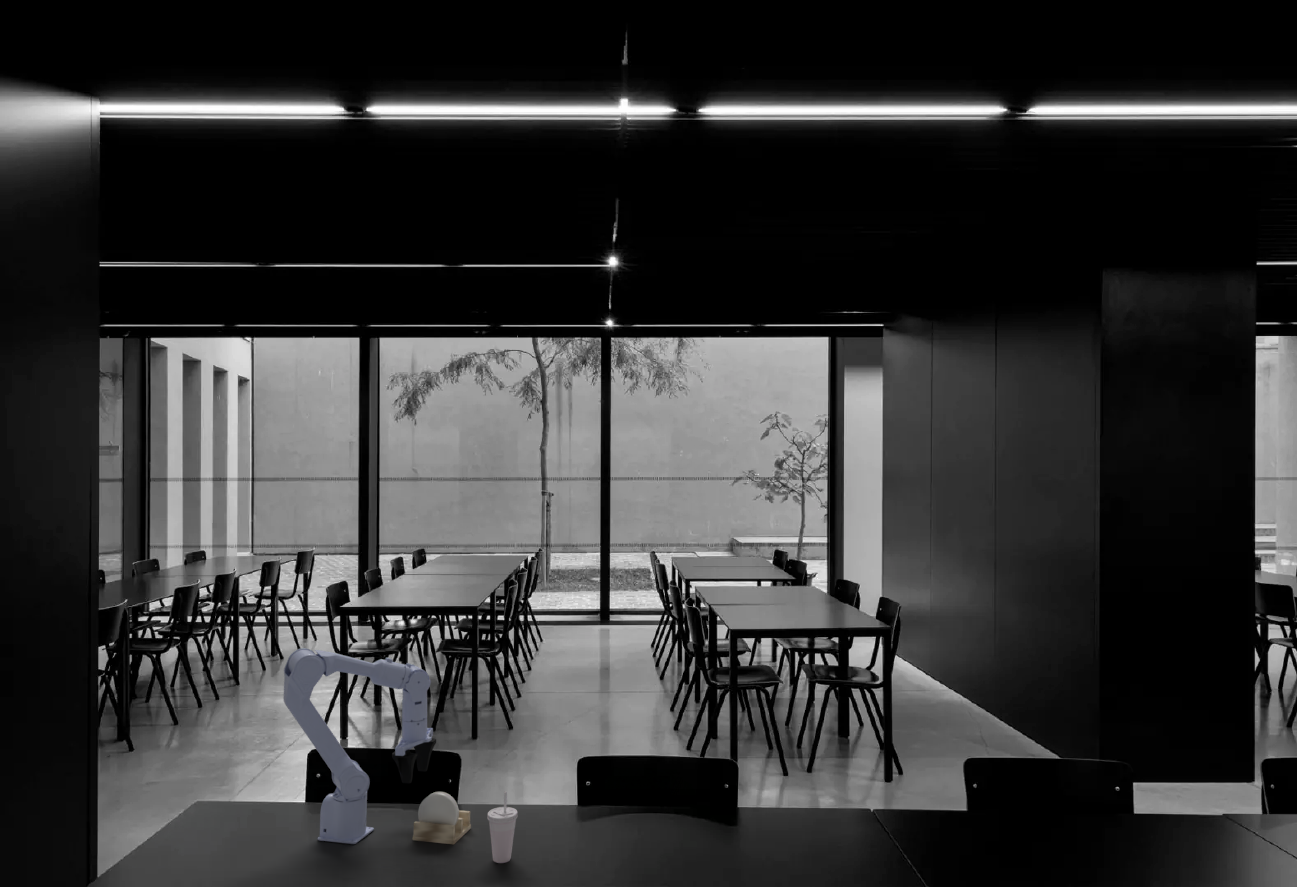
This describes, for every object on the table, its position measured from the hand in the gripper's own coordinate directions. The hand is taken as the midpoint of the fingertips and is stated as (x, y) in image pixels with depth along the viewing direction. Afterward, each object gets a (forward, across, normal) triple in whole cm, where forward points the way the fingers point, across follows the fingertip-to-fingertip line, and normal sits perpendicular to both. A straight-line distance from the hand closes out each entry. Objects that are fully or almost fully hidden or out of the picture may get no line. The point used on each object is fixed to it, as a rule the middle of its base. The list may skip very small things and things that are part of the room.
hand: (414, 776), depth 192 cm
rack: (+10, -5, -9) cm, 15 cm away
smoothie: (+11, -14, -27) cm, 32 cm away
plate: (+10, -7, -9) cm, 15 cm away
